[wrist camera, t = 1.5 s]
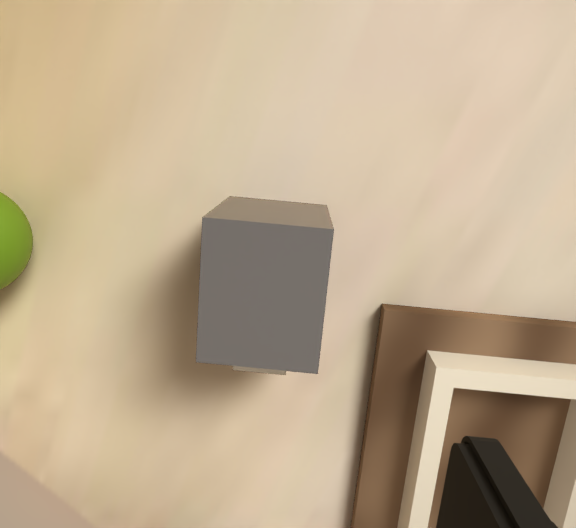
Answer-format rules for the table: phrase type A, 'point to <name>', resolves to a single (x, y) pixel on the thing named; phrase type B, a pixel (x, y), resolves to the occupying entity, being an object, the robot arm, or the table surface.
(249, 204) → the grey rectangular block
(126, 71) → the table surface
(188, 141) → the table surface
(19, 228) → the snail figurine
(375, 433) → the brown piece
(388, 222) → the table surface
